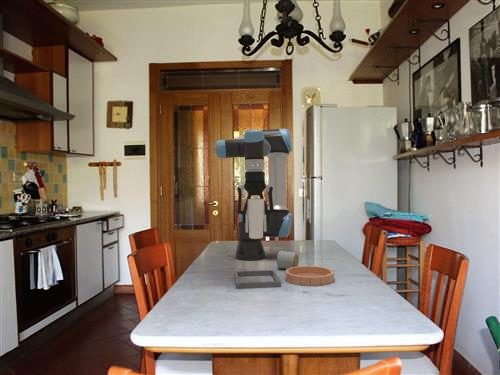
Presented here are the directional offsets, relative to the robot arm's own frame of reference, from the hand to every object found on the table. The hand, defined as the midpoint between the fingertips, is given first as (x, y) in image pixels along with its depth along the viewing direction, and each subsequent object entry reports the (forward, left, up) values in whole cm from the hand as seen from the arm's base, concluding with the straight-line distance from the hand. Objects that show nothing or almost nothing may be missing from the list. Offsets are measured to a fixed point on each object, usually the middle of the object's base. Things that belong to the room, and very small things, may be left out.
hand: (255, 231), depth 142 cm
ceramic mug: (-19, +16, -19) cm, 31 cm away
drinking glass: (0, 0, -3) cm, 3 cm away
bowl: (0, +20, -19) cm, 28 cm away
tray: (0, 0, -19) cm, 19 cm away
